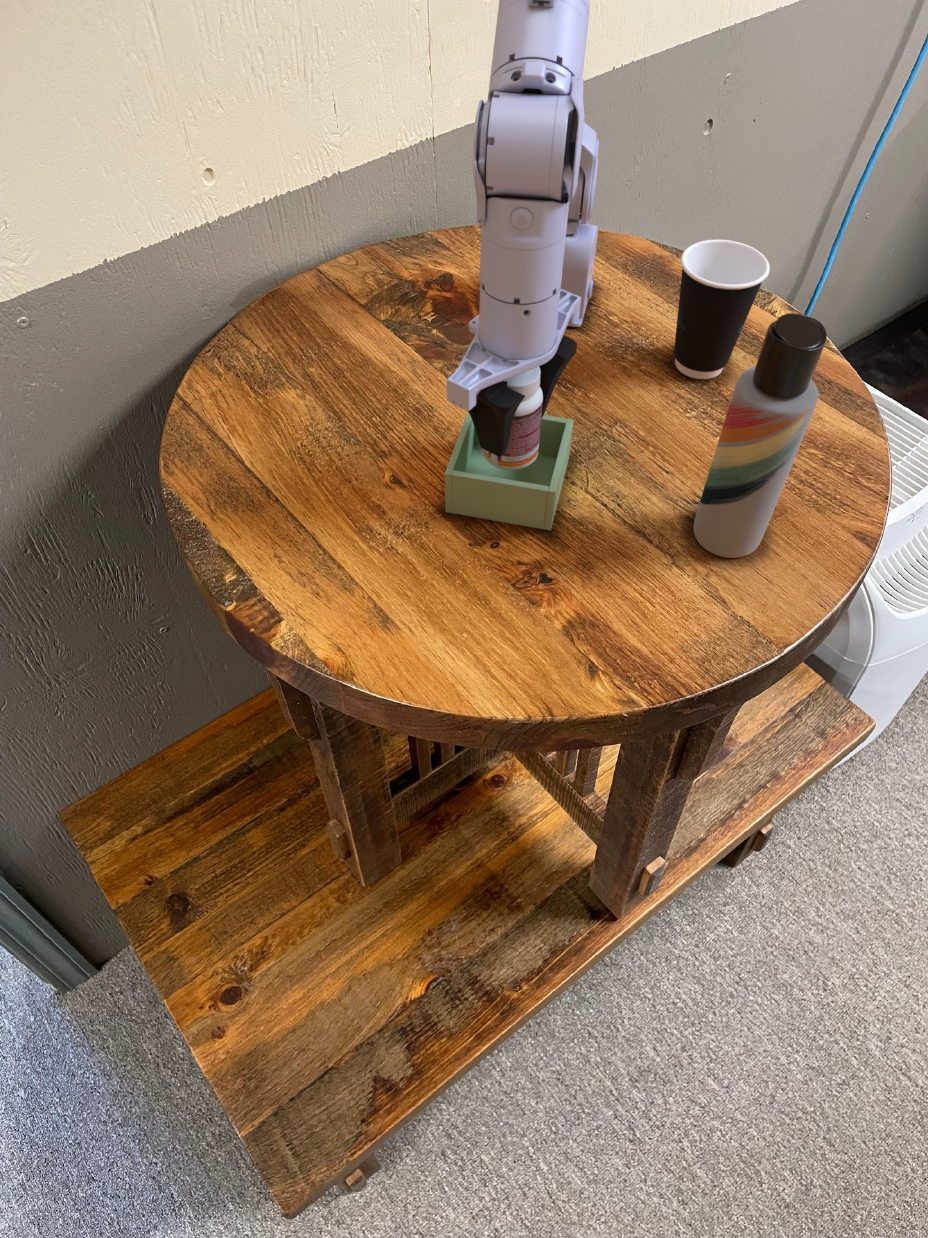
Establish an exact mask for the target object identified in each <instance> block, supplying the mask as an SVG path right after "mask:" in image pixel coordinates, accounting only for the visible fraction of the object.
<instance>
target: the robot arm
mask: <svg viewBox="0 0 928 1238" xmlns="http://www.w3.org/2000/svg"><path fill="white" fill-rule="evenodd" d="M497 9H498V10H497V16H496V25H495V26H496V27H495V34H494V42H493V49H492V59H491V67H490V77H489V84H488V92H487V100H486V101H484V100H483V99H480V100H479V102H478V106H477V110H476V114H475V119H474V126H473V127H474V128H473V138H472V139H473V140H472V175H473V181H474V187H475V188H474V189H475V195H476V220H477V221H476V222H477V224H480V255H479V256H480V261H479V267H480V268H479V273H480V274H479V309H478V310H479V314H477V315H476V316H475V317H473V318H472V319H471V320H469V322H468V331H469V333H470V334H473V335H474V336H473V338H472V340H471V342H470V343H469V346H468V348H467V350H466V352H465V353H464V355H463V357H462V359H461V362H460V364H459V365H458V367H457V368H456V370H455V371H454V372H453V373H452V374H451V375H450V376H449V377H448V378H446V401H447V402H449V403H451V404H453V405H454V406H456V407H458V408H460V409H463V410H465V411H467V412H469V414H470V416H471V419H472V421H473V424H474V427H475V430H476V433H477V436H478V440H479V443H480V446H481V448H482V449H484V450H486V451H488V452H490V453H492V454H494V455H496V456H498V457H501V456H502V455H503V454H504V453H505V451H506V449H507V446H508V442H509V436H510V430H511V425H512V421H513V418H514V415H515V413H516V410H517V408H518V407H519V405H520V403H521V402H522V400H523V399H524V397H525V395H523V394H520V393H518V392H516V391H514V390H512V389H510V388H508V387H507V383H508V382H507V381H505V382H504V380H506V379H508V378H511V377H513V376H516V375H518V374H521V373H523V372H526V371H528V370H531V369H533V368H536V367H538V366H539V368H540V387H541V390H542V393H543V403H542V405H543V406H542V414H541V419H542V417H543V415H545V413H546V411H547V408H548V405H549V403H550V400H551V397H552V395H553V393H554V390H555V387H556V385H557V383H558V381H559V379H560V377H561V376H562V373H563V372H564V370H565V368H566V367H567V366H568V364H569V362H570V361H571V360H572V358H573V357H574V356H575V355H576V354H577V350H578V343H577V341H576V340H575V339H573V338H571V337H569V336H566V335H565V333H566V330H567V328H568V327H571V328H580V327H581V326H582V324H583V321H584V316H585V314H586V310H587V305H588V302H589V299H592V295H593V290H594V289H593V288H594V282H595V281H594V280H593V275H594V268H595V267H594V266H595V260H596V252H597V244H598V236H599V226H598V225H595V224H592V223H589V221H590V220H591V219H592V217H593V210H594V202H595V193H596V185H597V175H598V167H599V158H598V156H599V155H598V154H599V146H600V140H599V138H597V137H598V134H597V132H596V131H595V130H594V129H593V128H592V127H591V126H590V125H588V124H587V122H585V118H586V113H585V104H584V80H585V78H583V75H584V65H585V57H586V47H587V37H588V28H589V20H590V10H591V9H590V0H499V1H498V8H497Z"/></svg>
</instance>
